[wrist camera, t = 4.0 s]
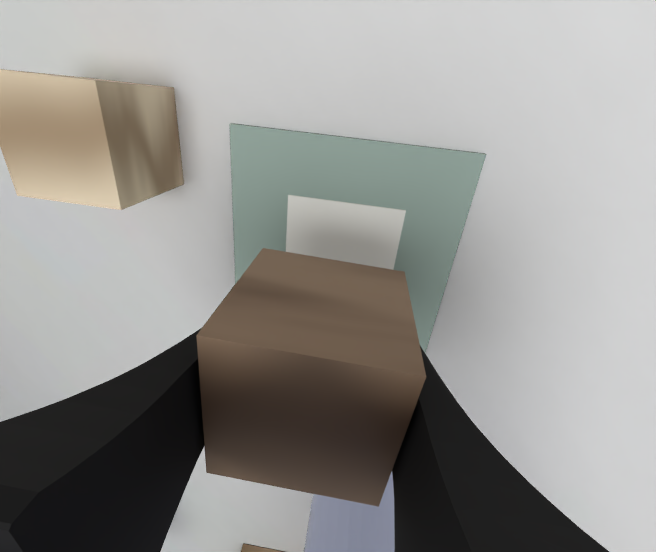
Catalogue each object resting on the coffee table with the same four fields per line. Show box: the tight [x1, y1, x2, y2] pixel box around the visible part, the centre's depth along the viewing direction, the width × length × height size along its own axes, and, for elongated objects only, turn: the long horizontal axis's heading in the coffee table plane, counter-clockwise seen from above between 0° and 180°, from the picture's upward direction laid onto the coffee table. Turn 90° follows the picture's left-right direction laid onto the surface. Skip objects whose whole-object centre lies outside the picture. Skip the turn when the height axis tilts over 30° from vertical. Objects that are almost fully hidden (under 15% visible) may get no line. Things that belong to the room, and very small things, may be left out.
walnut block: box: [196, 248, 426, 507], centre depth 10 cm, size 5×5×5 cm
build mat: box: [229, 124, 486, 352], centre depth 18 cm, size 12×12×1 cm
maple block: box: [0, 69, 184, 210], centre depth 14 cm, size 4×4×5 cm
